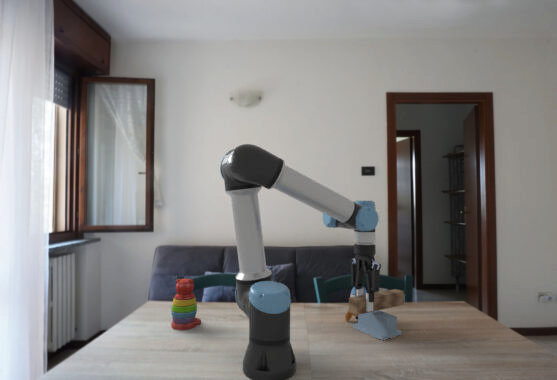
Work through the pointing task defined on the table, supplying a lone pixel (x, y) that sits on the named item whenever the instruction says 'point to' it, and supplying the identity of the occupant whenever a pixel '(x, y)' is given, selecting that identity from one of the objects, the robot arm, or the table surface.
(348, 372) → the table surface
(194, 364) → the table surface
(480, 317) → the table surface
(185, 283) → the stacking bear
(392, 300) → the walnut bar
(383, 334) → the slate ridge
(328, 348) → the table surface
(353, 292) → the toy rocket
